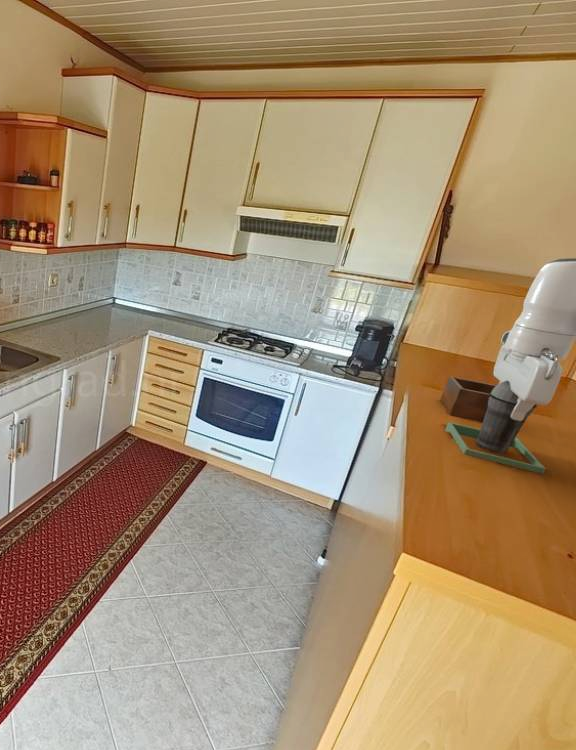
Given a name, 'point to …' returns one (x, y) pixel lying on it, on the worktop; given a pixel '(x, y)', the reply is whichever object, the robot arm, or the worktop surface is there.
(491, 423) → the beverage cup
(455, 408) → the brown rectangular open box
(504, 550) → the worktop surface
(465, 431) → the green rectangular frame
